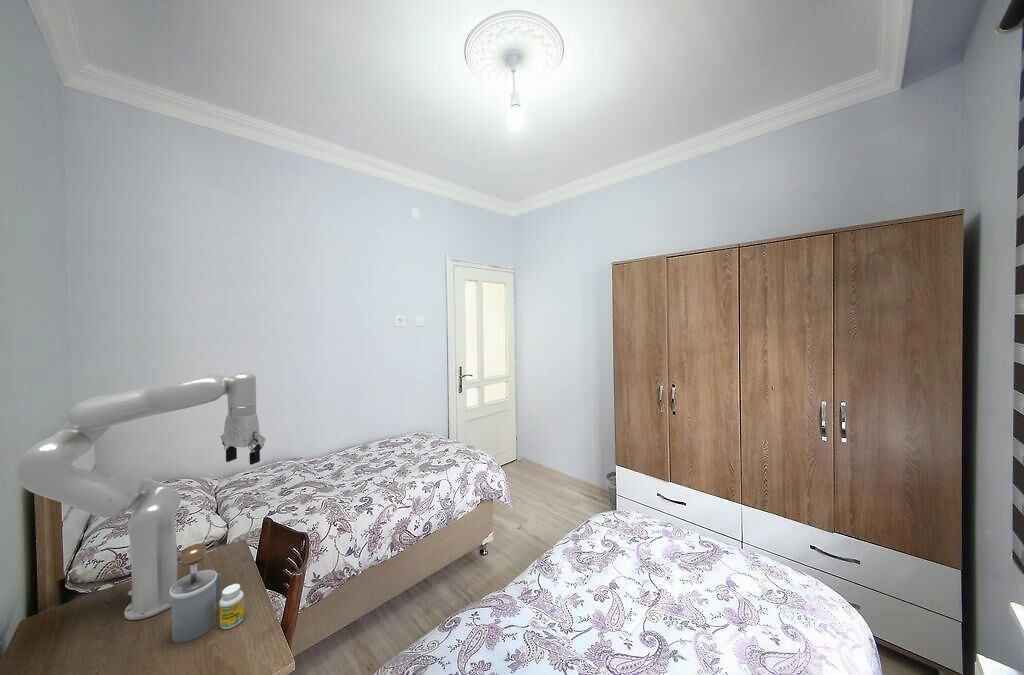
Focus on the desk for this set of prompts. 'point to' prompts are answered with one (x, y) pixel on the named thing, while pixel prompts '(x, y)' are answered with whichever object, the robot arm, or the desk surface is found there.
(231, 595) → the supplement bottle
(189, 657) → the desk surface
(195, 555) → the plunger
